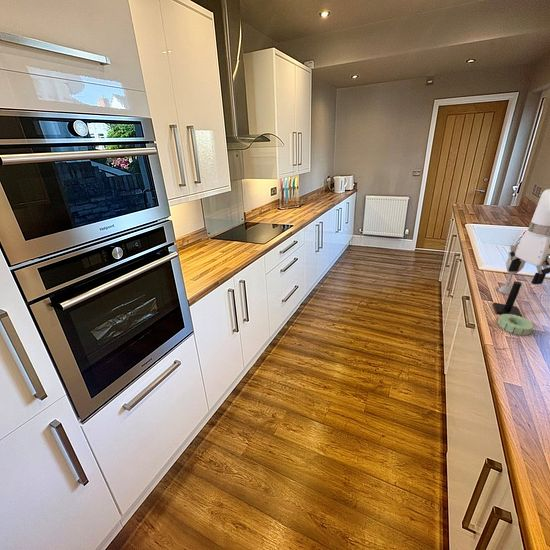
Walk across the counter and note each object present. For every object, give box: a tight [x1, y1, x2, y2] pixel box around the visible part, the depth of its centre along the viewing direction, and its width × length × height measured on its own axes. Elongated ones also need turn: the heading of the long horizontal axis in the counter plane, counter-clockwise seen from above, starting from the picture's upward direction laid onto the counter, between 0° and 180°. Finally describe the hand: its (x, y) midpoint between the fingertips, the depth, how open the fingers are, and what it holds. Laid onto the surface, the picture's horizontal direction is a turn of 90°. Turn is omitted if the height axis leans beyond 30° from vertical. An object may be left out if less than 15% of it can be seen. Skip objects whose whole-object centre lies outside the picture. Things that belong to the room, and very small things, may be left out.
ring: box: [497, 314, 535, 336], centre depth 107 cm, size 10×10×3 cm
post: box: [492, 280, 523, 317], centre depth 115 cm, size 8×8×13 cm
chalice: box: [497, 251, 527, 295], centre depth 129 cm, size 7×7×18 cm
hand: (524, 277), depth 100 cm, fingers open, 9 cm apart
